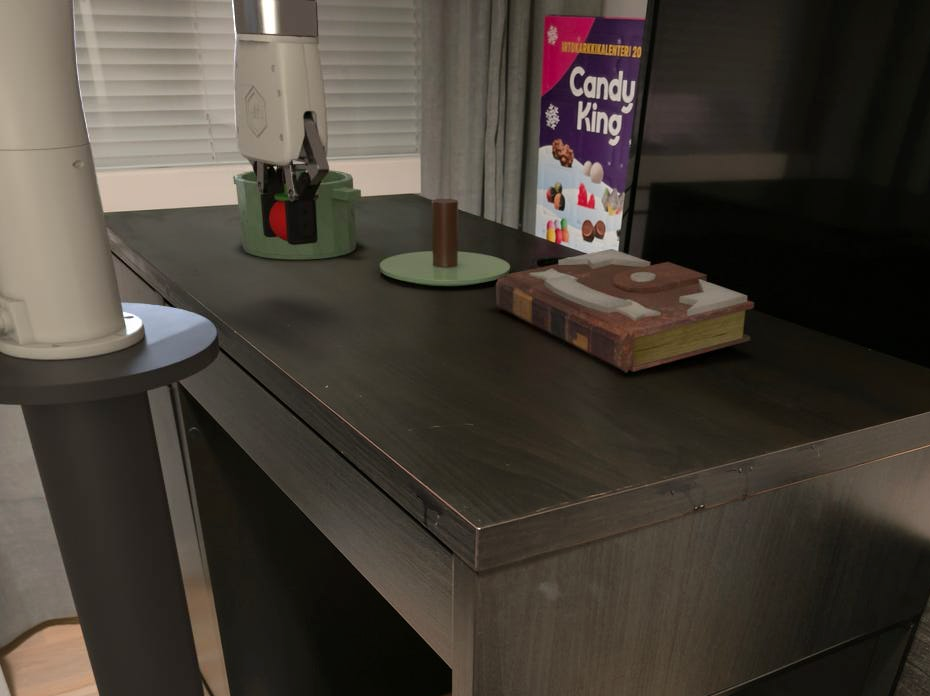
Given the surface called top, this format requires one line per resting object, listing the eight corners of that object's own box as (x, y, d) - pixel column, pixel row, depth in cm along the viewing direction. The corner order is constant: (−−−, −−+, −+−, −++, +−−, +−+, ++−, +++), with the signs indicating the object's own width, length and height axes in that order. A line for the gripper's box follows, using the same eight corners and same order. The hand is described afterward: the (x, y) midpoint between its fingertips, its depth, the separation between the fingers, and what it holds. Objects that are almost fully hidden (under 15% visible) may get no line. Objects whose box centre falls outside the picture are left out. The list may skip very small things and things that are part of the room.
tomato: (283, 246, 91) (279, 187, 88) (263, 239, 94) (258, 182, 91) (318, 242, 93) (315, 185, 91) (297, 236, 96) (294, 180, 93)
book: (497, 317, 98) (494, 268, 95) (618, 290, 103) (619, 243, 100) (620, 383, 81) (622, 326, 78) (757, 346, 86) (764, 291, 83)
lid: (460, 297, 101) (460, 218, 97) (353, 276, 109) (348, 201, 104) (534, 272, 112) (537, 199, 108) (432, 254, 119) (431, 185, 115)
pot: (318, 268, 112) (312, 191, 107) (206, 246, 121) (196, 174, 116) (394, 249, 122) (391, 178, 117) (284, 230, 131) (278, 163, 126)
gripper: (196, 20, 87) (218, 229, 97) (287, 23, 76) (302, 257, 86) (266, 24, 91) (280, 224, 101) (362, 27, 80) (368, 250, 90)
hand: (290, 237), depth 93 cm, fingers closed on tomato, 3 cm apart
